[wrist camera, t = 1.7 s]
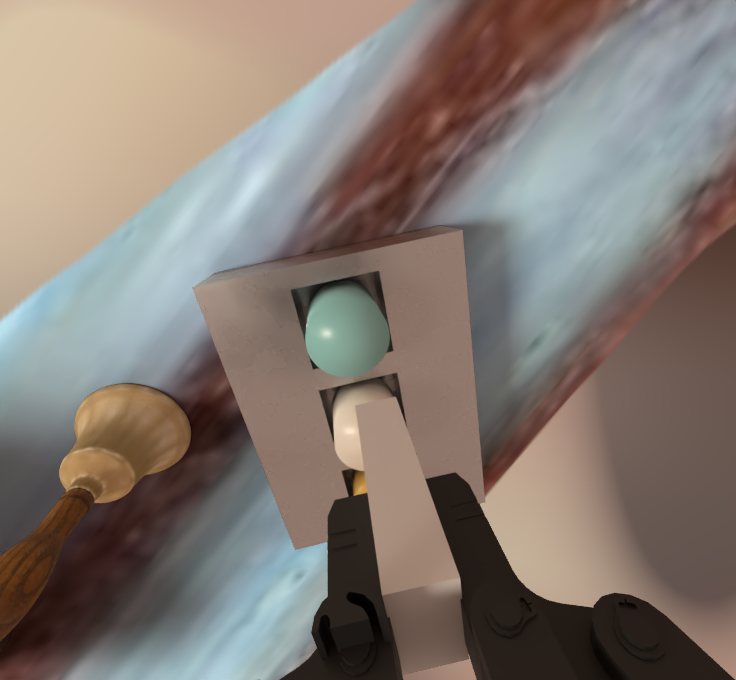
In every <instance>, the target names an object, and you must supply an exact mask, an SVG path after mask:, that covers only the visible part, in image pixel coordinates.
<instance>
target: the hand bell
mask: <svg viewBox="0 0 736 680" xmlns="http://www.w3.org/2000/svg"><path fill="white" fill-rule="evenodd" d="M74 431H75V435H76V438H77V441H76V443H75V445H74V446H73V448H72V449H71V451H70V452H69V453H68V454H67V456H66V457H65V458H64V460H63V461H62V463H61V466H60V470H59V476H60V480H61V483H62V485H63V486H64V488H65V489H66V490H67V491H66V492H65V493H64V494H63V495H62V497H61V498H60V500H59V501H58V502H57V503H56V505H55V506H54V507H53V509H52V510H51V511H50V512H49V514H48V515H47V516H46V518H45V519H44V520H43V521H42V523H41V524H40V525H39V526H38V527H37V528H36V529H35V530H34V531H33V532H32V533H31V534H30V535H28V536H27V537H26V538H24V539H23V540H22V541H20V542H19V543H17V544H16V545H14V546H13V547H11V548H10V549H9V550H8V551H6V552H5V553H4V554H3V555H1V556H0V641H1V640H2V639H3V638H4V637H5V636H6V635H7V634H9V632H10V631H11V630H12V629H13V628H14V627H15V626H16V625H17V624H18V623H19V622H20V621H21V619H22V618H23V617H24V616H25V615H26V613H27V612H28V611H29V609H30V608H31V607H32V605H33V604H34V602H35V601H36V600H37V598H38V597H39V595H40V594H41V592H42V590H43V589H44V587H45V585H46V584H47V582H48V580H49V578H50V576H51V574H52V572H53V570H54V567H55V565H56V563H57V560H58V557H59V554H60V551H61V548H62V546H63V544H64V543H65V541H66V539H67V538H68V536H69V535H70V534H71V532H72V531H73V530H74V528H75V527H76V526H77V525H78V524H79V522H80V521H81V520H82V518H83V517H84V516H85V515H86V513H87V512H88V511H89V510H90V509H91V508H92V506H93V505H94V503H107V502H111V501H115V500H118V499H120V498H122V497H123V496H125V495H126V494H128V493H129V492H130V490H131V489H132V488H133V487H134V486H135V485H136V484H137V482H138V481H139V480H140V479H141V478H142V477H143V476H145V475H148V474H153V473H157V472H160V471H162V470H165V469H167V468H169V467H171V466H172V465H174V464H175V463H177V462H178V461H179V460H180V459H181V458H182V457H183V456H184V454H185V453H186V451H187V449H188V447H189V445H190V440H191V427H190V423H189V421H188V418H187V416H186V414H185V413H184V411H183V410H182V409H181V407H180V406H179V405H178V404H177V403H176V402H175V401H174V400H172V399H171V398H170V397H168V396H167V395H165V394H164V393H162V392H160V391H158V390H155V389H152V388H150V387H147V386H142V385H136V384H116V385H111V386H107V387H104V388H101V389H99V390H97V391H95V392H93V393H92V394H90V395H89V396H88V397H87V398H86V399H85V400H84V401H83V402H82V403H81V405H80V407H79V408H78V410H77V413H76V417H75V423H74Z"/></svg>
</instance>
